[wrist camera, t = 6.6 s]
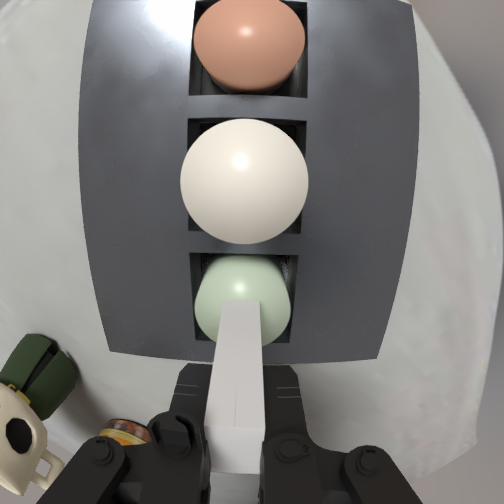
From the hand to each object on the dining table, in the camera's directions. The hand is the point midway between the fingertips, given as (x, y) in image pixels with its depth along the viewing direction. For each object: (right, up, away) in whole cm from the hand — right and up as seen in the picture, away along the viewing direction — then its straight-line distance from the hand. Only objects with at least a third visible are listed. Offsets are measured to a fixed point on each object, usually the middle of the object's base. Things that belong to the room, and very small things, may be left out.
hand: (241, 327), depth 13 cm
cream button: (0, +7, 0) cm, 7 cm away
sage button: (0, +2, +4) cm, 4 cm away
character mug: (-17, -6, +8) cm, 20 cm away
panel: (0, +8, +2) cm, 8 cm away
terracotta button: (0, +13, 0) cm, 13 cm away
